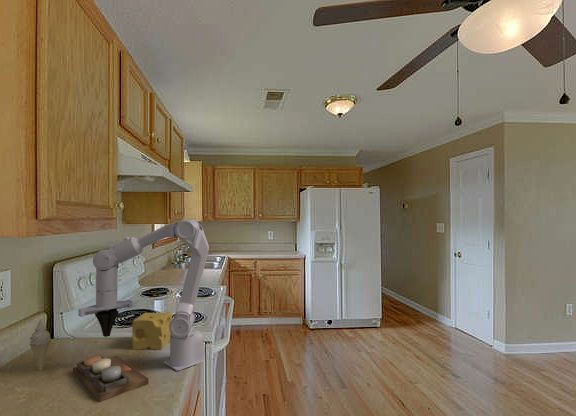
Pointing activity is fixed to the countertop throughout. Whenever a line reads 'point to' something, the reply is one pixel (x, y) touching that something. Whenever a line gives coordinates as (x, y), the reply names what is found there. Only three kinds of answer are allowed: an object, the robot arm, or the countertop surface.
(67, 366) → the countertop surface
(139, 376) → the button panel
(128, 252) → the robot arm
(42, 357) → the ice cream cone
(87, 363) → the terracotta button
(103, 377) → the slate button
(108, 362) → the cream button
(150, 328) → the cheese
